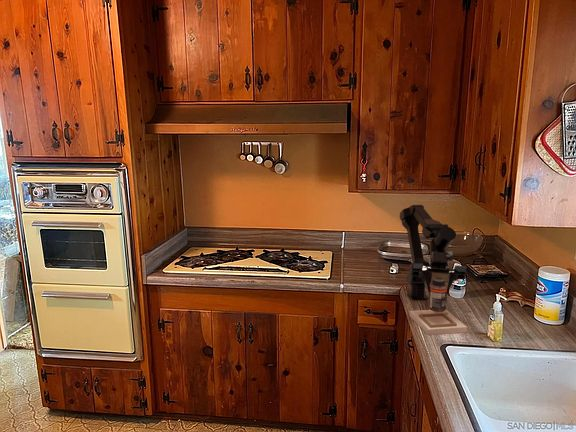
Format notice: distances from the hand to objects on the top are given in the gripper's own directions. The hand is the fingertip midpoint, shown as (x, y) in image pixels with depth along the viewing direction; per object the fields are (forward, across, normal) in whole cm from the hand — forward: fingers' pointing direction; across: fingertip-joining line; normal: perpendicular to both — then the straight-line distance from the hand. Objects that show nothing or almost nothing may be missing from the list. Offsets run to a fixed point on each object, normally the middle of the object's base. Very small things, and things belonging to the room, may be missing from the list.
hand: (438, 292), depth 150 cm
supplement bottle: (+4, 0, +6) cm, 7 cm away
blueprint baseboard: (+7, 0, +12) cm, 14 cm away
